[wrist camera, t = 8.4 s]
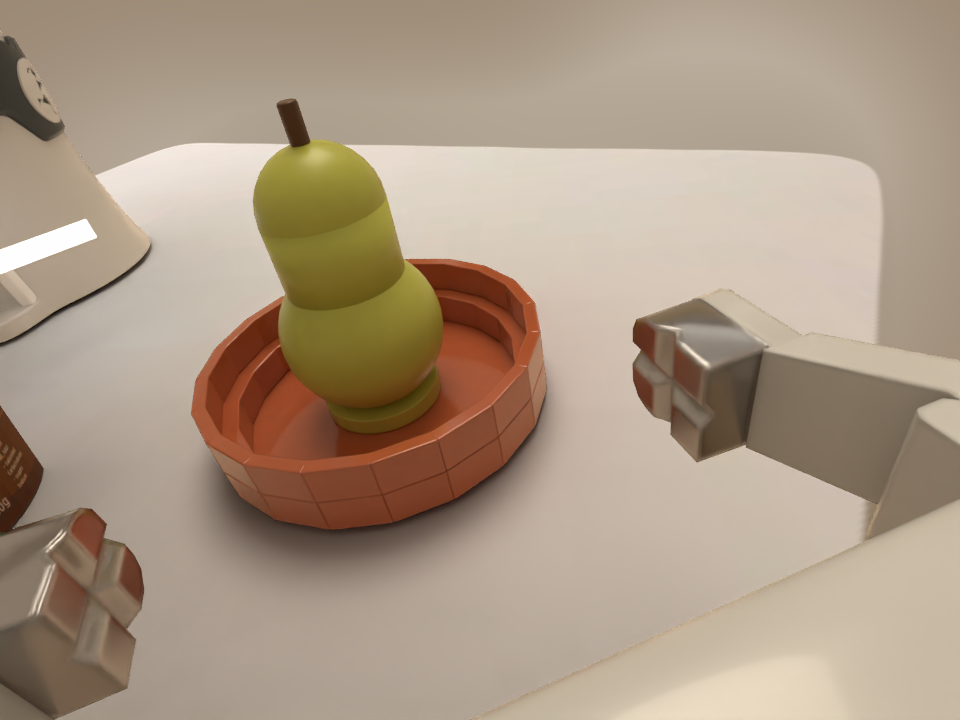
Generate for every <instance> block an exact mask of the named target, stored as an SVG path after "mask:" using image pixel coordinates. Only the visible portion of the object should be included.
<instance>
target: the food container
mask: <svg viewBox="0 0 960 720" xmlns="http://www.w3.org/2000/svg"><path fill="white" fill-rule="evenodd" d="M43 469H44V468H43V467H42V465H41V464H40V463H39V461H38V460H37V458H36V457H35V455H34V454H33V452H32V451H31V450H30V448H29V447H28V445H27V444H26V442H25V441H24V439H23V438H22V437H21V435H20V434H19V432H18V431H17V429H16V428H15V426H14V425H13V424H12V422H11V421H10V419H9V418H8V416H7V415H6V413H5V412H4V411H3V409H2V408H1V406H0V533H2V532H6V531H9V530H10V529H11V528H12V527H13V525H14V524H15V523H16V522H17V520H18V519H19V518H20V516H21V515H22V514H23V513H24V511H25V510H26V508H27V507H28V505H29V503H30V502H31V500H32V499H33V497H34V495H35V493H36V491H37V489H38V486H39V484H40V482H41V478H42V473H43Z"/></svg>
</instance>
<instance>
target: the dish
mask: <svg viewBox="0 0 960 720" xmlns="http://www.w3.org/2000/svg"><path fill="white" fill-rule="evenodd" d="M405 260H407V261H408V262H409V263H410V264H412V265H413V266H414V267H415V268H417V269H418V270H419V271H420V272H421V273H422V274H423V275H424V277H425V278H426V279H427V281H428V282H429V283H430V285H431V286H432V288H433V290H434V292H435V294H436V296H437V298H438V301H439V304H440V307H441V311H442V318H443V340H442V346H441V350H440V353H439V356H438V359H437V361H436V363H435V364H436V366H437V369H438V373H439V377H440V382H441V386H440V392H439V395H438V397H437V399H436V401H435V402H434V404H433V405H432V406H431V408H430V409H429V410H428V411H427V412H426V413H424V414H423V415H422V416H421V417H419V418H418V419H416V420H415V421H413V422H411V423H409V424H407V425H405V426H403V427H401V428H398V429H395V430H392V431H388V432H383V433H376V434H361V433H355V432H351V431H348V430H346V429H344V428H342V427H341V426H339V425H338V424H337V423H336V422H335V421H334V420H333V418H332V416H331V414H330V411H329V409H328V407H327V404H326V400H324V399H322V398H320V397H319V396H317V395H315V394H314V393H312V392H311V391H310V390H308V389H307V388H306V387H305V386H304V385H303V384H302V383H301V382H300V381H299V380H298V379H297V377H296V376H295V375H294V374H293V372H292V371H291V369H290V367H289V365H288V364H287V362H286V360H285V358H284V355H283V352H282V349H281V345H280V340H279V333H278V320H279V312H280V308H281V305H282V301H283V298H284V296H285V295H284V296H282V297H280V298H279V299H277V300H276V301H274V302H273V303H271V304H269V305H268V306H266V307H265V308H263V309H262V310H260V311H258V312H257V313H255V314H254V315H252V316H251V317H249V318H247V319H246V320H245V321H244V322H243V323H242V324H241V325H239V326H238V327H237V328H236V329H235V330H234V331H233V332H232V333H231V334H230V335H229V336H228V337H227V338H226V339H225V340H223V341H222V342H221V343H220V344H219V345H218V346H217V347H216V349H214V351H213V353H212V354H211V356H210V357H209V359H208V361H207V362H206V364H205V366H204V367H203V369H202V370H201V372H200V374H199V375H198V377H197V378H196V381H195V388H194V395H193V402H192V409H191V415H192V417H193V419H194V421H195V423H196V425H197V427H198V429H199V431H200V433H201V435H202V437H203V439H204V441H205V443H206V445H207V446H208V448H209V449H210V451H211V452H212V454H213V456H214V457H215V459H216V460H217V462H218V463H219V465H220V467H221V468H222V470H223V471H224V473H225V474H226V476H227V477H228V479H229V481H230V482H231V484H232V485H233V487H234V488H235V490H236V492H237V493H238V495H239V496H240V497H241V498H242V499H244V500H245V501H247V502H248V503H250V504H252V505H253V506H255V507H256V508H258V509H259V510H261V511H262V512H264V513H266V514H267V515H269V516H270V517H272V518H273V519H275V520H279V521H283V522H289V523H294V524H300V525H305V526H311V527H317V528H322V529H328V530H329V529H331V530H336V529H345V528H353V527H362V526H371V525H379V524H388V523H392V522H393V521H394V522H397V521H399V520H402V519H404V518H407V517H410V516H412V515H415V514H418V513H420V512H423V511H426V510H428V509H431V508H434V507H436V506H439V505H441V504H444V503H447V502H449V501H452V500H453V499H457V498H458V497H459V496H461V495H462V494H464V493H465V492H467V491H468V490H469V489H471V488H472V487H474V486H475V485H477V484H478V483H479V482H481V481H482V480H484V479H485V478H487V477H488V476H489V475H491V474H492V473H494V472H495V471H497V470H498V469H500V468H501V467H502V466H503V465H504V464H505V463H506V462H507V461H508V460H509V458H510V457H511V456H512V455H513V453H514V452H515V451H516V450H517V448H518V447H519V446H520V445H521V443H522V442H523V441H524V440H525V438H526V437H527V436H528V435H529V433H530V432H531V431H532V430H533V428H534V426H535V425H536V422H537V419H538V416H539V413H540V409H541V406H542V403H543V400H544V396H545V393H546V390H547V389H546V388H547V386H546V377H545V368H544V360H543V351H542V342H541V333H540V327H539V322H538V316H537V311H536V306H535V303H534V301H533V300H532V299H531V298H530V296H529V295H528V294H527V293H526V292H525V291H524V290H523V289H522V288H521V286H520V285H519V284H518V283H517V282H516V281H515V280H514V279H512V278H510V277H508V276H505V275H503V274H501V273H499V272H497V271H495V270H493V269H491V268H489V267H487V266H484V265H479V264H473V263H468V262H463V261H457V260H452V259H405Z"/></svg>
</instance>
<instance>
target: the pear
mask: <svg viewBox="0 0 960 720" xmlns="http://www.w3.org/2000/svg"><path fill="white" fill-rule="evenodd" d="M277 108H278V111H279V114H280V117H281V120H282V123H283V125H284V128H285V131H286V134H287V137H288V140H289V143H290V145H289V146H287V147H285V148H283V149H281V150H280V151H278V152H277V153H276V154H275V155H274V156H273V157H272V158H271V159H269V160H268V162H267V163H266V164H265V166H264V168H263V169H262V171H261V172H260V174H259V177H258V180H257V182H256V185H255V189H254V197H253V207H254V215H255V219H256V222H257V225H258V229H259V232H260V234H261V236H262V239H263V241H264V243H265V246H266V248H267V251H268V253H269V255H270V258H271V260H272V262H273V265H274V267H275V270H276V272H277V274H278V277H279V279H280V281H281V284H282V286H283V289H284V291H285V293H286V294H285V296H284V298H283V301H282V305H281V308H280V312H279V320H278V333H279V340H280V345H281V349H282V352H283V355H284V358H285V360H286V362H287V364H288V365H289V367H290V369H291V371H292V372H293V374H294V375H295V376H296V377H297V379H298V380H299V381H300V382H301V383H302V384H303V385H304V386H305V387H306V388H307V389H308V390H310V391H311V392H312V393H314V394H315V395H317V396H319V397H320V398H322V399H324V400H326V404H327V407H328V409H329V411H330V414H331V416H332V418H333V420H334V421H335V422H336V423H337V424H338V425H339V426H341V427H342V428H344V429H346V430H348V431H351V432H355V433H361V434H376V433H383V432H388V431H392V430H395V429H398V428H401V427H403V426H405V425H407V424H409V423H411V422H413V421H415V420H416V419H418V418H419V417H421V416H422V415H423V414H424V413H426V412H427V411H428V410H429V409H430V408H431V406H432V405H433V404H434V402H435V401H436V399H437V397H438V395H439V392H440V386H441V382H440V377H439V373H438V369H437V366H436V364H435V363H436V361H437V359H438V356H439V353H440V350H441V346H442V340H443V318H442V311H441V307H440V304H439V301H438V298H437V296H436V294H435V292H434V290H433V288H432V286H431V285H430V283H429V282H428V281H427V279H426V278H425V277H424V275H423V274H422V273H421V272H420V271H419V270H418V269H417V268H415V267H414V266H413V265H412V264H410V263H409V262H408V261H407V260H405V259H403V256H402V253H401V249H400V245H399V241H398V238H397V234H396V230H395V226H394V223H393V219H392V215H391V211H390V207H389V204H388V200H387V196H386V193H385V191H384V188H383V185H382V182H381V180H380V178H379V177H378V175H377V173H376V172H375V170H374V169H373V168H372V167H371V165H370V164H369V163H368V162H367V161H366V160H365V159H364V158H363V157H361V156H360V155H359V154H357V153H356V152H355V151H353V150H352V149H350V148H348V147H346V146H343V145H341V144H339V143H335V142H331V141H327V140H310V139H309V136H308V133H307V130H306V126H305V124H304V121H303V117H302V114H301V111H300V108H299V105H298V102H297V101H296V99H286V100H282V101H280V102H278V103H277Z"/></svg>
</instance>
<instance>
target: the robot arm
mask: <svg viewBox="0 0 960 720" xmlns="http://www.w3.org/2000/svg"><path fill="white" fill-rule="evenodd" d="M0 35H3V33H2V31H1V29H0ZM64 127H65V126H64V124H63V122H62V120H61V118H60V115H59V112H58V110H57V107H56V105H55V103H54V102H53V100H52V98H51V96H50V94H49V93H48V91H47V89H46V87H45V85H44V84H43V82H42V80H41V78H40V77H39V75H38V74H37V72H36V70H35V69H34V67H33V66H32V64H31V63H30V62H29V61H28V60H27V58H26V57H25V55H24V54H23V52H22V50H21V49H20V47H19V45H18V44H17V42H16V41H15V39H14V38H12V37H10V36H4V37H0V343H1V342H4V341H7V340H10V339H12V338H14V337H16V336H18V335H20V334H21V333H23V332H25V331H26V330H28V329H29V328H31V327H33V326H34V325H36V324H37V323H39V322H40V321H41V320H43V319H44V318H46V317H47V316H49V315H50V314H52V313H53V312H55V311H56V310H58V309H60V308H62V307H64V306H66V305H68V304H70V303H72V302H74V301H76V300H78V299H80V298H82V297H84V296H86V295H88V294H90V293H92V292H93V291H95V290H97V289H99V288H101V287H103V286H104V285H106V284H108V283H109V282H111V281H113V280H114V279H116V278H117V277H119V276H120V275H122V274H123V273H125V272H126V271H127V270H129V269H130V268H131V267H132V266H134V265H135V264H136V263H137V262H138V261H139V260H140V259H141V258H142V257H143V256H144V255H145V254H146V252H147V251H148V249H149V247H150V244H151V241H150V238H149V237H148V235H146V234H145V233H144V232H143V231H142V230H141V229H140V228H139V227H138V226H137V225H136V224H135V223H134V222H133V221H132V220H131V218H130V217H129V216H128V215H127V214H126V213H125V212H124V211H123V210H122V209H121V207H120V206H119V205H118V204H117V203H116V202H115V200H114V199H113V198H112V197H111V195H110V194H109V193H108V192H107V190H106V189H105V188H104V187H103V185H102V184H101V183H100V182H99V180H98V179H97V178H96V176H95V175H94V174H93V172H92V171H91V170H90V168H89V167H88V166H87V164H86V163H85V161H84V160H83V159H82V157H81V156H80V155H79V153H78V152H77V150H76V149H75V148H74V146H73V144H72V143H71V142H70V140H69V139H68V137H67V136H66V134H65V133H64ZM633 342H634V343H635V344H636V345H637V346H638V347H639V348H640V349H641V351H640V353H639V354H638V356H637V358H636V359H635V361H634V363H633V381H634V384H635V387H636V390H637V393H638V396H639V398H640V399H641V401H642V403H643V404H644V406H645V407H646V409H647V410H648V411H649V412H650V413H651V414H652V415H653V416H654V417H656V418H659V419H662V420H665V421H668V422H671V434H670V435H671V436H672V437H673V438H674V439H675V440H676V441H677V442H678V443H679V444H680V445H681V446H682V447H683V448H684V449H685V451H686V452H687V453H688V454H689V455H690V456H691V457H692V458H693V459H694V460H695V461H696V462H699V461H702V460H705V459H708V458H710V457H713V456H716V455H719V454H721V453H724V452H727V451H729V450H732V449H735V448H738V447H740V446H743V445H746V448H749V449H751V450H753V451H755V452H758V453H760V454H762V455H765V456H767V457H769V458H772V459H774V460H776V461H779V462H781V463H783V464H785V465H788V466H790V467H792V468H795V469H797V470H799V471H802V472H804V473H806V474H809V475H811V476H813V477H815V478H818V479H820V480H822V481H825V482H827V483H829V484H832V485H834V486H836V487H838V488H841V489H843V490H845V491H848V492H850V493H852V494H855V495H857V496H859V497H862V498H864V499H866V500H868V501H871V502H873V503H875V504H878V505H877V508H876V510H875V513H874V515H873V517H872V520H871V522H870V525H869V527H868V539H869V540H867V541H865V542H863V543H861V544H858V545H856V546H854V547H852V548H850V549H847V550H845V551H843V552H841V553H839V554H836V555H834V556H832V557H830V558H827V559H825V560H823V561H821V562H819V563H816V564H814V565H812V566H810V567H808V568H805V569H803V570H801V571H799V572H796V573H794V574H792V575H790V576H788V577H785V578H783V579H781V580H779V581H776V582H774V583H772V584H770V585H768V586H765V587H763V588H761V589H759V590H756V591H754V592H752V593H750V594H748V595H745V596H743V597H741V598H739V599H736V600H734V601H732V602H730V603H728V604H725V605H723V606H721V607H719V608H716V609H714V610H712V611H710V612H708V613H705V614H703V615H701V616H699V617H696V618H694V619H692V620H690V621H688V622H685V623H683V624H681V625H679V626H676V627H674V628H672V629H670V630H668V631H665V632H663V633H661V634H659V635H656V636H654V637H652V638H650V639H648V640H645V641H643V642H641V643H639V644H636V645H634V646H632V647H630V648H628V649H625V650H623V651H621V652H619V653H616V654H614V655H612V656H610V657H608V658H605V659H603V660H601V661H599V662H596V663H594V664H592V665H590V666H588V667H585V668H583V669H581V670H579V671H576V672H574V673H572V674H570V675H568V676H565V677H563V678H561V679H559V680H556V681H554V682H552V683H550V684H548V685H545V686H543V687H541V688H539V689H536V690H534V691H532V692H530V693H528V694H525V695H523V696H521V697H519V698H516V699H514V700H512V701H510V702H508V703H505V704H503V705H501V706H499V707H497V708H494V709H492V710H490V711H488V712H486V713H483V714H481V715H479V716H477V717H474V718H472V719H470V720H960V360H955V359H949V358H944V357H939V356H934V355H929V354H923V353H918V352H913V351H907V350H902V349H896V348H891V347H886V346H881V345H876V344H870V343H865V342H860V341H854V340H849V339H844V338H839V337H833V336H828V335H823V334H817V333H812V332H811V333H808V334H805V335H801V334H799V333H798V332H796V331H795V330H793V329H792V328H790V327H788V326H787V325H785V324H784V323H782V322H780V321H779V320H777V319H776V318H774V317H772V316H771V315H769V314H768V313H766V312H765V311H763V310H761V309H760V308H758V307H757V306H755V305H753V304H752V303H750V302H749V301H747V300H746V299H744V298H742V297H741V296H739V295H738V294H736V293H734V292H733V291H731V290H727V289H718V290H716V291H713V292H710V293H707V294H705V295H702V296H699V297H697V298H694V299H693V300H691V301H688V302H685V303H682V304H679V305H677V306H674V307H671V308H668V309H665V310H662V311H659V312H656V313H653V314H650V315H648V316H645V317H642V318H639V319H636V322H635V325H634V327H633ZM106 525H107V524H106V523H105V522H104V521H103V520H102V519H101V518H100V517H99V516H98V515H97V514H96V513H95V512H94V511H93V510H92V509H87V508H78V509H75V510H72V511H68V512H65V513H62V514H59V515H56V516H53V517H50V518H46V519H43V520H40V521H37V522H34V523H31V524H28V525H24V526H21V527H18V528H15V529H12V530H9V531H6V532H2V533H0V720H54V719H56V718H59V717H61V716H64V715H66V714H68V713H71V712H73V711H75V710H78V709H80V708H82V707H85V706H87V705H89V704H92V703H94V702H96V701H99V700H101V699H103V698H106V697H108V696H111V695H113V694H115V693H118V692H120V691H122V690H125V689H127V686H128V681H129V676H130V670H131V665H132V659H133V654H134V648H135V643H136V639H135V638H134V637H133V636H132V634H131V633H130V632H129V631H128V630H127V628H128V626H129V625H130V624H131V622H132V621H133V620H134V618H135V617H136V616H137V614H138V613H139V612H140V610H141V609H142V602H143V595H144V585H143V578H142V571H141V568H140V566H139V564H138V562H137V560H136V558H135V556H134V554H133V553H132V552H131V551H130V550H129V548H128V547H127V546H126V545H125V544H123V543H119V542H116V541H112V540H109V539H105V538H104V535H105V530H106Z"/></svg>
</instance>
